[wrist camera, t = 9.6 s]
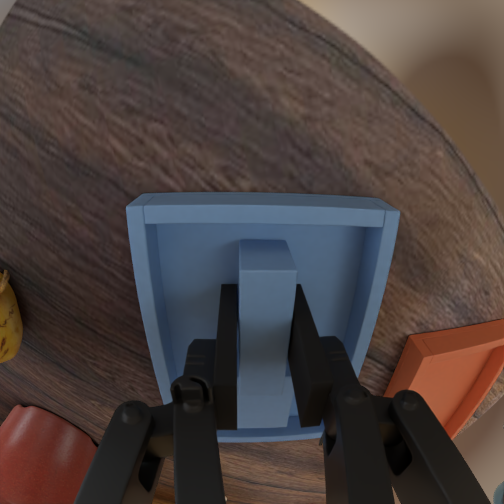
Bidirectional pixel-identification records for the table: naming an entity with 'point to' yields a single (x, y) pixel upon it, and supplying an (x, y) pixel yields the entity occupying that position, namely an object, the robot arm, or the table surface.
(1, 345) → the fruit
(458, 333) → the red tray
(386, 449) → the robot arm
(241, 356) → the blue stepped block
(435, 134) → the table surface
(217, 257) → the blue tray
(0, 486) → the flower pot
